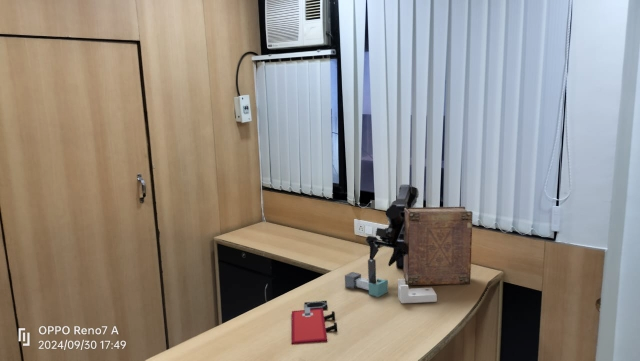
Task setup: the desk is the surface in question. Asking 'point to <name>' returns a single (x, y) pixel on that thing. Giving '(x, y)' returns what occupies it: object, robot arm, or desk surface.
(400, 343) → the desk surface
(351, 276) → the outer sleeve
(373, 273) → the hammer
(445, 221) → the book
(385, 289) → the socket block
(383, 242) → the robot arm
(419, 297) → the bracket
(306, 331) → the red board with handle
